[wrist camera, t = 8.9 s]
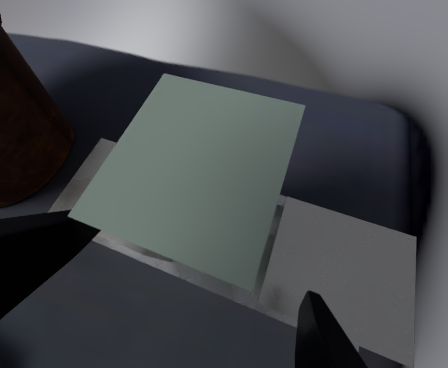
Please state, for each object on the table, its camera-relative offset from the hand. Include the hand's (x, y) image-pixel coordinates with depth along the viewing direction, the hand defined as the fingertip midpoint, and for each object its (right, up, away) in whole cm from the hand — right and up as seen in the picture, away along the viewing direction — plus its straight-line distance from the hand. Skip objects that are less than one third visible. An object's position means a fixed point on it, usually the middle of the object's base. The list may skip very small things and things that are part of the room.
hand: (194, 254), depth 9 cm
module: (+1, -2, +8) cm, 8 cm away
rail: (+1, -2, +10) cm, 10 cm away
